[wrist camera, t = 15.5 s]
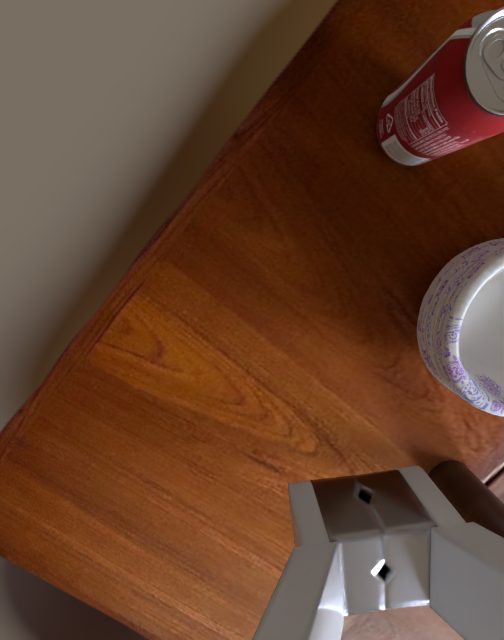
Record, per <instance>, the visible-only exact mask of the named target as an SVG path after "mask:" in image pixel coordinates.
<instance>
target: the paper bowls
mask: <svg viewBox="0 0 504 640" xmlns="http://www.w3.org/2000/svg"><path fill="white" fill-rule="evenodd" d="M417 339H418V346H419V350H420V354H421V356H422V358H423V361H424V363H425V365H426V366H427V368H428V369H429V371H430V372H431V374H432V375H433V376H434V377H435V378H436V379H437V380H439V381H440V382H441V383H442V384H443V385H444V386H446V387H447V388H449V389H450V390H451V391H453V392H454V393H456V394H457V395H459V396H460V397H461V398H463V399H464V400H466V401H467V402H468V403H470V404H471V405H473V406H474V407H476V408H478V409H481V410H483V411H485V412H488V413H491V414H494V415H498V416H504V238H501V239H495V240H491V241H486V242H484V243H481V244H478V245H475V246H473V247H471V248H469V249H467V250H465V251H463V252H462V253H460V254H459V255H457V256H456V257H454V258H453V259H452V260H450V261H449V262H448V263H447V264H446V265H445V266H444V267H443V269H442V270H441V271H440V272H439V273H438V275H437V276H436V277H435V279H434V280H433V282H432V283H431V285H430V287H429V288H428V290H427V292H426V294H425V296H424V298H423V301H422V304H421V307H420V312H419V316H418V323H417Z"/></svg>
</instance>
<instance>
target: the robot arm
mask: <svg viewBox="0 0 504 640" xmlns="http://www.w3.org/2000/svg"><path fill="white" fill-rule="evenodd" d="M288 493H289V503H290V512H291V521H292V529H293V537H294V544H295V547H294V549H293V551H292V553H291V555H290V557H289V560H288V562H287V564H286V566H285V568H284V571H283V573H282V575H281V577H280V579H279V582H278V584H277V586H276V588H275V590H274V593H273V595H272V597H271V599H270V601H269V604H268V606H267V608H266V610H265V612H264V615H263V617H262V619H261V621H260V623H259V626H258V628H257V630H256V632H255V634H254V637H253V639H252V640H340V638H341V633H342V628H343V623H344V617H345V616H350V615H356V614H361V613H367V612H372V611H378V610H384V609H392V608H401V607H410V606H419V605H428V604H430V608H431V609H432V610H434V611H435V612H436V613H437V614H438V615H439V616H440V617H441V618H442V619H443V620H444V621H445V622H446V623H448V624H449V625H450V626H451V627H452V628H453V629H454V630H455V631H456V632H457V633H458V634H459V635H460V636H462V637H463V638H464V639H465V640H504V538H503V537H501V536H499V535H497V534H495V533H493V532H491V531H490V530H488V529H486V528H484V527H482V526H480V525H478V524H476V523H475V522H470V523H466V522H465V521H464V519H463V518H462V517H461V516H460V515H459V513H458V512H457V511H456V510H455V508H454V507H453V506H452V505H451V503H450V502H449V501H448V500H447V498H446V497H445V496H444V495H443V494H442V492H441V491H440V490H439V489H438V487H437V486H436V485H435V484H434V482H433V481H432V480H431V479H430V477H429V476H428V475H427V474H426V473H425V471H424V470H423V469H422V468H421V467H419V466H411V467H405V468H398V469H395V470H388V471H381V472H375V473H368V474H361V475H354V476H345V477H336V478H327V479H318V480H310V481H304V482H295V483H288Z"/></svg>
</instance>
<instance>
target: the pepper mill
mask: <svg viewBox="0 0 504 640" xmlns="http://www.w3.org/2000/svg"><path fill="white" fill-rule="evenodd" d="M429 477H430V479H431V480H432V481H433V482H434V484H435V485H436V486H437V487H438V489H439V490H440V491H441V492H442V494H443V495H444V496H445V497H446V498H447V500H448V501H449V502H450V503H451V505H452V506H453V507H454V508H455V510H456V511H457V512H458V513H459V515H460V516H461V517H462V518H463V519H464V521H465V522H466V523H470V522H475V523H476V524H478V525H480V526H482V527H484V528H486V529H488V530H490V531H491V532H493V533H495V534H497V535H499V536H501V537H503V538H504V504H503V503H502V502H501V501H500V500H499V499H498V498H497V497H496V496H495V495H494V494H493V493H492V492H491V491H490V490H489V489H488V488H487V487H486V486H485V485H484V484H483V483H482V482H481V481H480V480H479V479H478V478H477V477H476V476H475V475H474V474H473V473H472V472H471V471H470V470H469V469H468V468H467V467H466V466H465V465H464V464H463V463H461V462H458V461H446V462H443V463H441V464H439V465H437V466H436V467H435V468H434V469H433V470H432V471H431V472H430V474H429Z"/></svg>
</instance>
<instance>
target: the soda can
mask: <svg viewBox="0 0 504 640" xmlns="http://www.w3.org/2000/svg"><path fill="white" fill-rule="evenodd" d="M501 132H504V7H502V8H500V9H498V10H492V11H487V12H484V13H481V14H479V15H477V16H475V17H473V18H471V19H470V20H468V21H467V22H466V23H464V24H463V25H462V26H461V27H460V28H459V29H458V30H456V31H455V32H454V33H453V34H452V35H451V36H450V37H449V38H448V39H447V40H446V41H445V42H444V43H443V44H442V45H441V46H440V47H439V48H438V49H436V50H435V51H434V52H433V53H432V54H431V55H430V56H429V57H428V58H427V59H426V60H425V61H424V62H423V63H422V64H421V65H420V66H419V67H418V68H416V69H415V70H414V71H413V72H412V73H411V74H410V75H409V76H408V77H407V78H406V79H405V80H404V81H403V82H402V83H401V84H400V85H399V86H398V87H396V88H395V89H394V90H393V91H392V92H391V93H390V94H389V95H388V97H387V98H386V99H385V101H384V102H383V104H382V106H381V108H380V110H379V113H378V117H377V122H376V134H377V139H378V143H379V145H380V147H381V149H382V151H383V152H384V154H385V155H386V156H387V157H388V158H389V159H390V160H392V161H393V162H395V163H397V164H400V165H404V166H417V165H421V164H424V163H427V162H429V161H432V160H434V159H437V158H439V157H442V156H444V155H447V154H449V153H452V152H454V151H457V150H459V149H462V148H464V147H467V146H469V145H472V144H474V143H477V142H479V141H482V140H484V139H487V138H489V137H492V136H494V135H497V134H499V133H501Z"/></svg>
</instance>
